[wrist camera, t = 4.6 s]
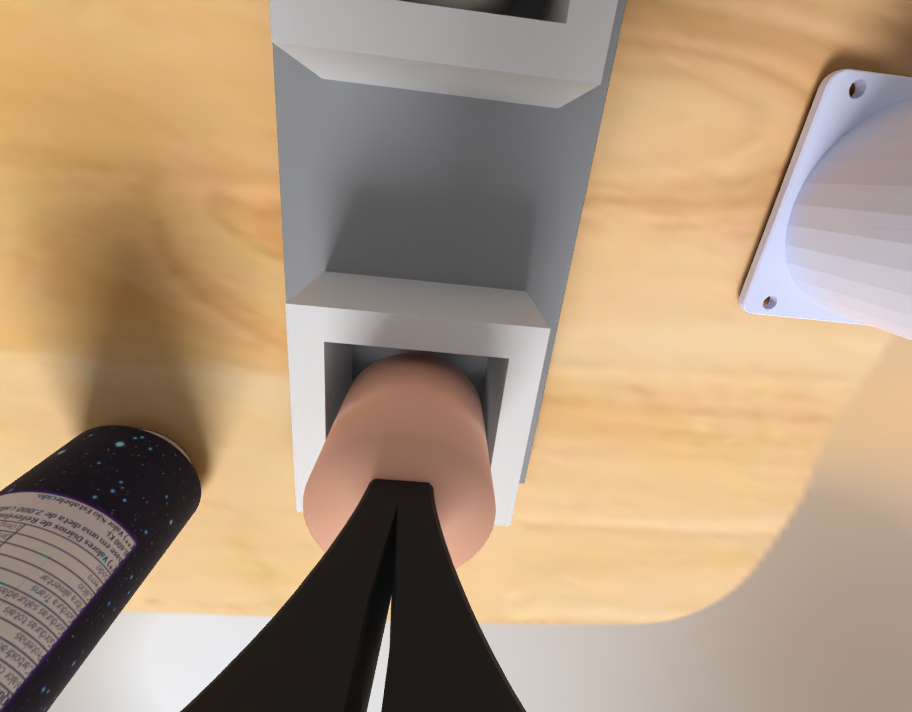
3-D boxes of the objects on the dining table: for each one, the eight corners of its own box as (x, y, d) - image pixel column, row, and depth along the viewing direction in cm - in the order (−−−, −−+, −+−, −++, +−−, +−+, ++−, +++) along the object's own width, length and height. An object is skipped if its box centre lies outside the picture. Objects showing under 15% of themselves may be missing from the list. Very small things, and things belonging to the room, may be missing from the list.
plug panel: (671, -268, 11) (834, -590, 6) (520, 468, 20) (542, 558, 15) (267, -342, 10) (121, -756, 6) (301, 452, 19) (256, 540, 15)
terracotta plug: (491, 359, 13) (509, 440, 9) (473, 476, 15) (482, 586, 11) (344, 346, 13) (298, 423, 9) (343, 467, 14) (305, 575, 11)
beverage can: (52, 433, 19) (-513, 811, 8) (167, 398, 18) (-268, 751, 7) (130, 527, 21) (-224, 924, 10) (234, 498, 20) (-19, 887, 9)
